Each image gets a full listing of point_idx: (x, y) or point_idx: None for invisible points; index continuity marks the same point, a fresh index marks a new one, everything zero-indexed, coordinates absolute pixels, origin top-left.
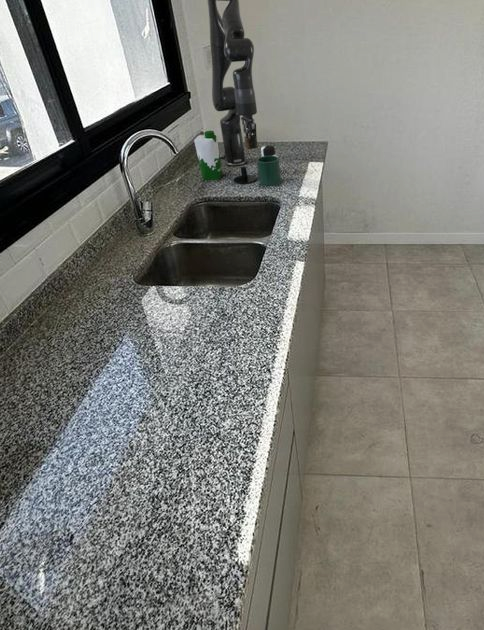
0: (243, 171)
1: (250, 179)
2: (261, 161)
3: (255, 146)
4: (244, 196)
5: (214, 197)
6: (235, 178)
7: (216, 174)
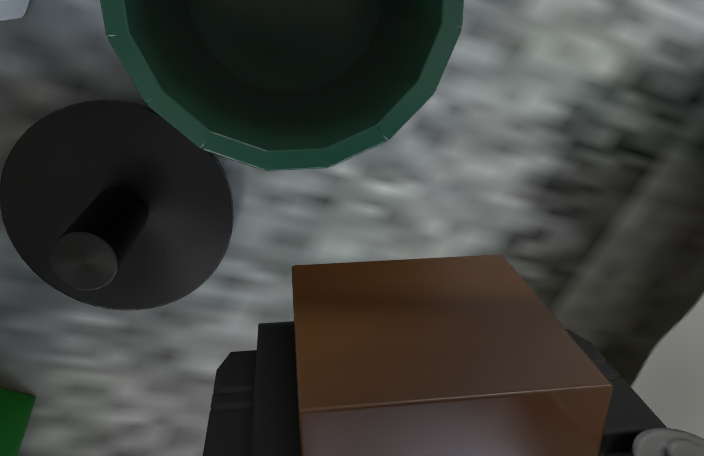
0: (126, 255)
1: (158, 170)
2: (164, 66)
3: None
4: None
5: None
6: (75, 289)
7: (12, 447)
